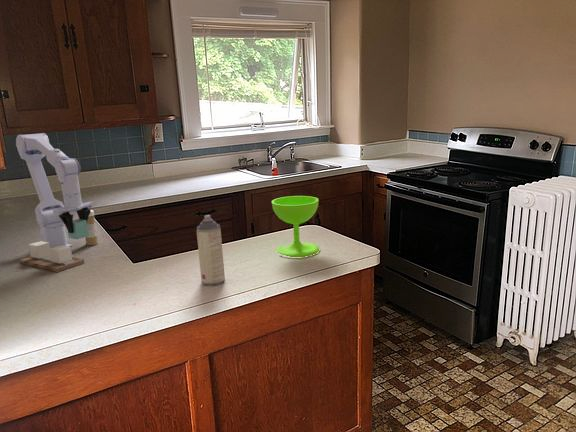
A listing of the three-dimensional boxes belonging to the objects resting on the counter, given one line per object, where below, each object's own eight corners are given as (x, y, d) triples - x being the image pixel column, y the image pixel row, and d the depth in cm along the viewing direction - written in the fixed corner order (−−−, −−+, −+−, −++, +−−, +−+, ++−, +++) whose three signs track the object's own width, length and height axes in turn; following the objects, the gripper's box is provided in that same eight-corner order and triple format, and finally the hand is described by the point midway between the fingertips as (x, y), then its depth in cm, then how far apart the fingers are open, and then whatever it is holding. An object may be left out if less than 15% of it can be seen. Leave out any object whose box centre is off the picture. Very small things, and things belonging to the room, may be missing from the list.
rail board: (20, 262, 164) (20, 259, 163) (47, 254, 172) (47, 251, 172) (57, 272, 152) (56, 268, 152) (84, 262, 160) (84, 259, 160)
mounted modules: (31, 256, 164) (28, 244, 163) (43, 252, 168) (41, 241, 167) (60, 263, 155) (58, 250, 154) (72, 259, 159) (70, 246, 158)
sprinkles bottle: (88, 242, 185) (83, 210, 182) (100, 242, 185) (95, 209, 182) (84, 246, 180) (79, 212, 177) (96, 245, 181) (91, 211, 178)
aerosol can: (214, 275, 142) (209, 211, 137) (229, 280, 138) (224, 214, 133) (196, 282, 137) (190, 216, 133) (211, 287, 133) (205, 219, 128)
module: (68, 237, 167) (66, 221, 166) (80, 234, 171) (77, 218, 169) (77, 239, 164) (74, 222, 163) (88, 236, 168) (86, 219, 167)
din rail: (29, 257, 166) (29, 255, 166) (39, 254, 169) (39, 252, 169) (65, 265, 155) (64, 263, 155) (74, 262, 158) (74, 260, 158)
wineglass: (265, 251, 163) (262, 201, 159) (299, 241, 173) (297, 194, 169) (294, 261, 151) (292, 207, 147) (329, 250, 161) (328, 199, 157)
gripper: (59, 198, 156) (65, 237, 159) (96, 190, 168) (101, 227, 171) (47, 197, 160) (53, 235, 163) (84, 189, 171) (89, 225, 175)
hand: (77, 230), depth 167 cm, fingers closed on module, 4 cm apart
